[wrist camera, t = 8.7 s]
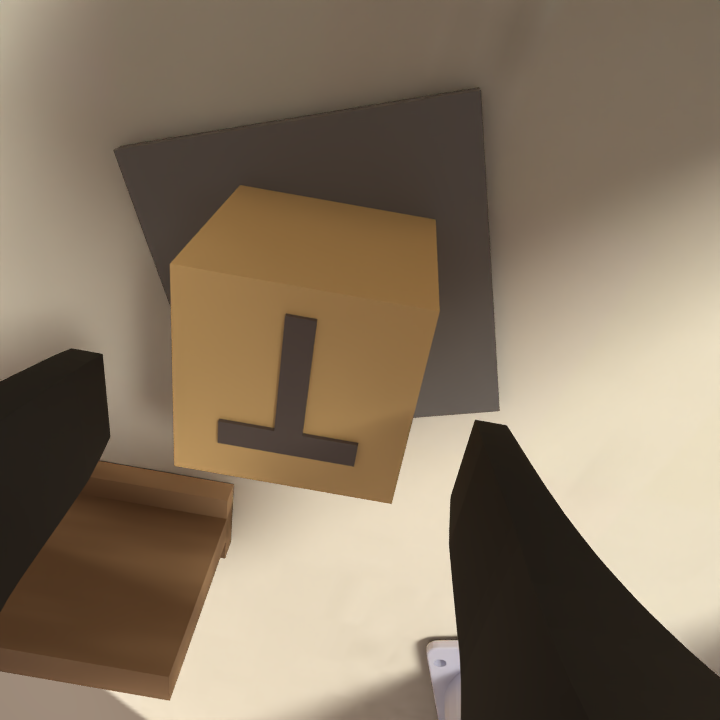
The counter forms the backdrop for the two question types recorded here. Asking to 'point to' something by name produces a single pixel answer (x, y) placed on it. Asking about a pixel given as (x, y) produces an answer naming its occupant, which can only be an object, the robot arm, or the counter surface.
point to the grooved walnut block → (119, 582)
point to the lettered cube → (302, 341)
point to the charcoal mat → (355, 187)
